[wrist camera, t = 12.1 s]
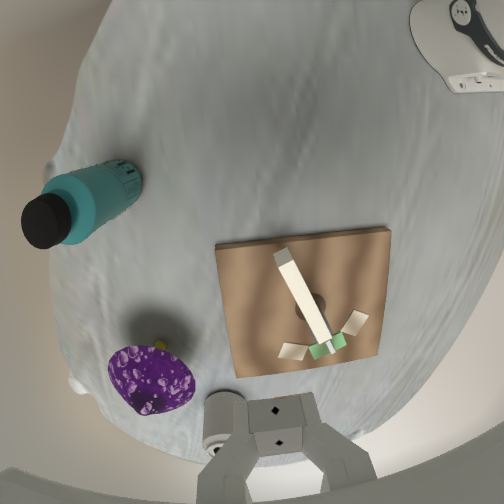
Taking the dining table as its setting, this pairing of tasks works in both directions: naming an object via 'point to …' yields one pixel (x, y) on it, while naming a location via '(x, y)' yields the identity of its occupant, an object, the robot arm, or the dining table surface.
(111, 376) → the decorative mushroom
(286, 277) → the cream lever
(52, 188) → the beverage bottle
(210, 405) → the can
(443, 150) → the dining table surface
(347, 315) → the board
